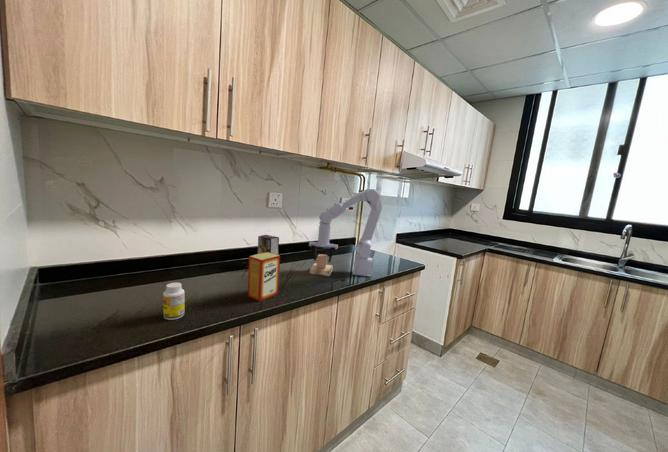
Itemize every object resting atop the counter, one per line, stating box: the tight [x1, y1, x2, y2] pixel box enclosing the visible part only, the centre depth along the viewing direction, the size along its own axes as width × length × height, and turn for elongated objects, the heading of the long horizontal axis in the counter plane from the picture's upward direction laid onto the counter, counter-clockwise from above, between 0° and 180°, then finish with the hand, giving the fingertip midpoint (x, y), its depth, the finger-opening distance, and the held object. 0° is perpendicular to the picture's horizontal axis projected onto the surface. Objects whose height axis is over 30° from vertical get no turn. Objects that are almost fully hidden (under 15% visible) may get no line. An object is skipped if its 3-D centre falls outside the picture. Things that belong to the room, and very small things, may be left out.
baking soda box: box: [247, 252, 281, 302], centre depth 98 cm, size 10×6×16 cm
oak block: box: [309, 262, 334, 277], centre depth 133 cm, size 10×10×3 cm
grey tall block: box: [257, 234, 280, 255], centre depth 132 cm, size 9×6×16 cm
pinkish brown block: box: [316, 253, 328, 269], centre depth 132 cm, size 4×4×6 cm
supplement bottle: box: [162, 282, 186, 321], centre depth 79 cm, size 6×6×10 cm
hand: (322, 261), depth 132 cm, fingers open, 7 cm apart
